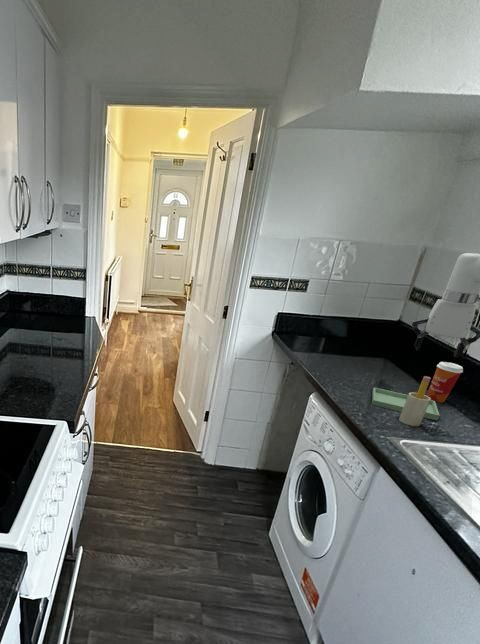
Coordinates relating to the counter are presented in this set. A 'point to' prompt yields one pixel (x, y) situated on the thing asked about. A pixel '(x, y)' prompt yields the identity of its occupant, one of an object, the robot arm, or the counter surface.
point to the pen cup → (414, 409)
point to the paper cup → (444, 381)
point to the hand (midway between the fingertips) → (436, 353)
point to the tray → (399, 402)
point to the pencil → (423, 387)
